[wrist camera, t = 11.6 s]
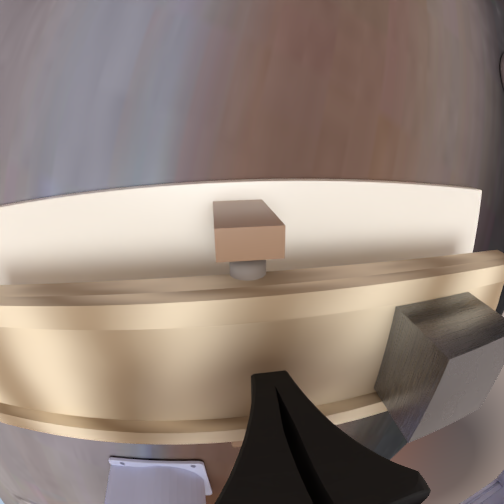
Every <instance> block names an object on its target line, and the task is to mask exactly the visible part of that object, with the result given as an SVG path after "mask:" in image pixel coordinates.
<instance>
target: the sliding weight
mask: <svg viewBox="0 0 504 504" xmlns="http://www.w3.org/2000/svg"><path fill="white" fill-rule="evenodd" d="M503 365H504V317H503V316H501V315H500V314H498V313H497V312H496V311H494V310H493V309H492V308H490V307H489V306H488V305H486V304H485V303H483V302H482V301H481V300H479V299H478V298H476V297H475V296H474V295H472V294H471V293H469V292H465V293H460V294H456V295H451V296H446V297H442V298H437V299H432V300H427V301H422V302H417V303H412V304H406V305H401V306H396V307H395V312H394V316H393V321H392V325H391V329H390V333H389V337H388V341H387V345H386V348H385V352H384V356H383V359H382V363H381V366H380V369H379V373H378V376H377V379H376V382H375V386H374V390H375V391H376V393H377V394H378V396H379V397H380V399H381V400H382V402H383V404H384V405H385V407H386V408H387V410H388V411H389V413H390V415H391V416H392V418H393V419H394V421H395V422H396V424H397V426H398V427H399V429H400V430H401V432H402V434H403V435H404V437H405V438H406V440H407V442H408V443H409V442H411V441H414V440H416V439H418V438H421V437H423V436H425V435H428V434H430V433H432V432H434V431H436V430H439V429H441V428H443V427H445V426H447V425H449V424H451V423H453V422H455V421H457V420H459V419H461V418H463V417H465V416H466V415H468V414H470V413H472V412H474V411H476V410H477V409H479V408H480V407H481V405H482V404H483V402H484V400H485V399H486V397H487V395H488V393H489V392H490V390H491V388H492V386H493V384H494V382H495V380H496V378H497V377H498V375H499V373H500V371H501V369H502V367H503Z"/></svg>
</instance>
